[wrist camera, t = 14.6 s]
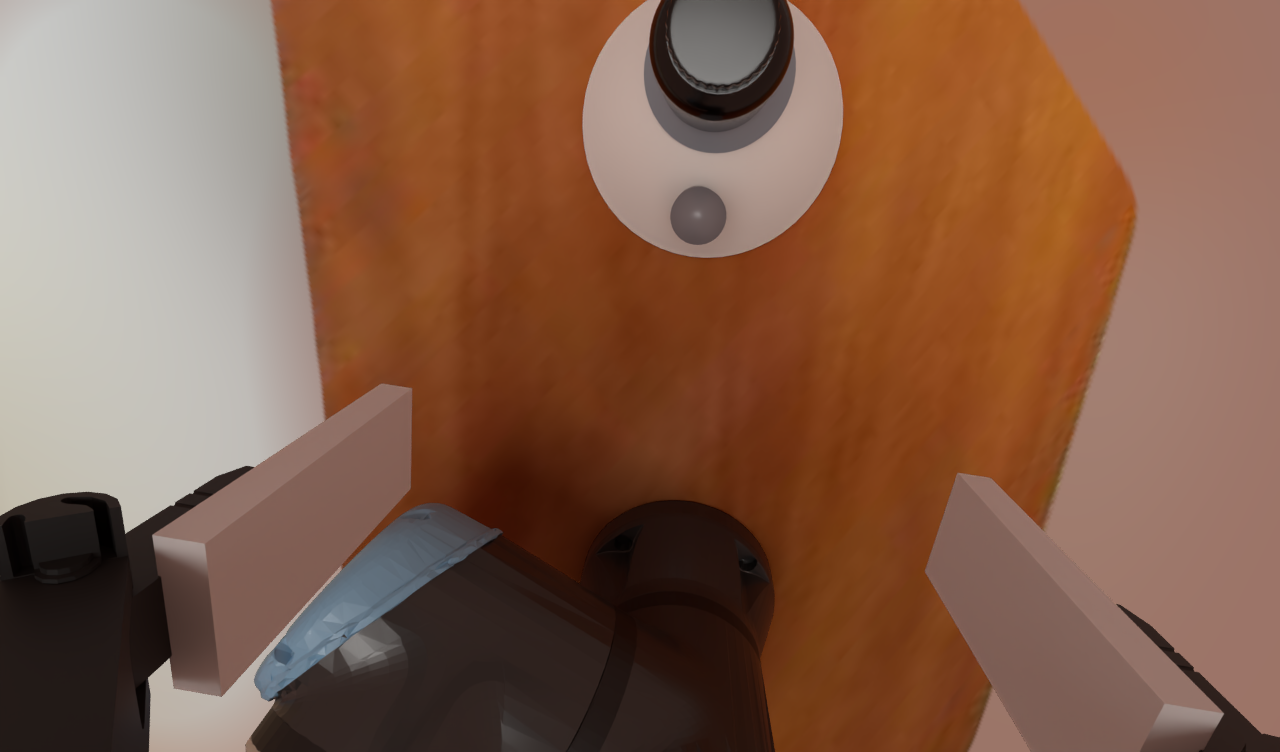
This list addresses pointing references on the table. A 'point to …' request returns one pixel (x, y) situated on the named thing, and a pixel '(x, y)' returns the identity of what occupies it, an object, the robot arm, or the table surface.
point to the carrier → (709, 148)
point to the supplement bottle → (720, 58)
